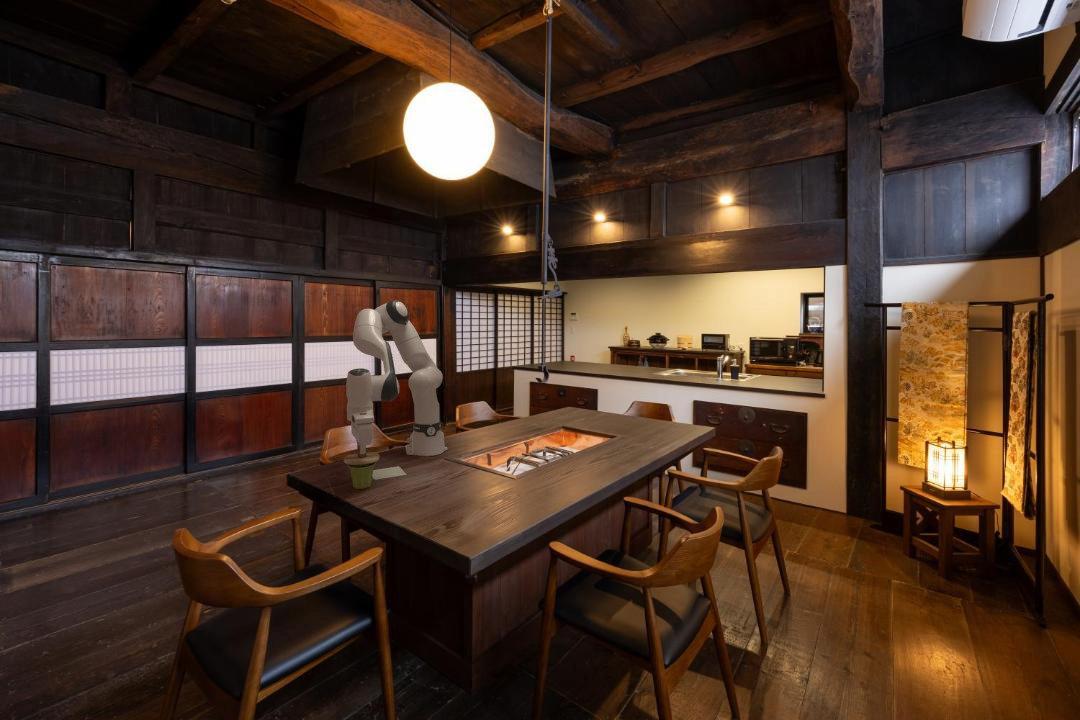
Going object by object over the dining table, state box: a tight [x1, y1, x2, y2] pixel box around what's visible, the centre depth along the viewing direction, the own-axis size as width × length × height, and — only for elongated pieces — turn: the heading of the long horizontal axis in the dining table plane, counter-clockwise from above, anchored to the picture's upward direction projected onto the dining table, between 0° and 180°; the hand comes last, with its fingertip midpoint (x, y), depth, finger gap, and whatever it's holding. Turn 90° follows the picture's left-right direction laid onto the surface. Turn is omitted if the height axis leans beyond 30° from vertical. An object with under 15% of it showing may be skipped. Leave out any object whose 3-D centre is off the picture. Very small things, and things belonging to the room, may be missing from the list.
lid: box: [343, 445, 381, 465], centre depth 168 cm, size 12×12×5 cm
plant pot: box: [347, 461, 377, 490], centre depth 169 cm, size 9×9×9 cm
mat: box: [372, 465, 407, 481], centre depth 183 cm, size 12×12×1 cm
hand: (361, 451), depth 168 cm, fingers closed on lid, 3 cm apart
